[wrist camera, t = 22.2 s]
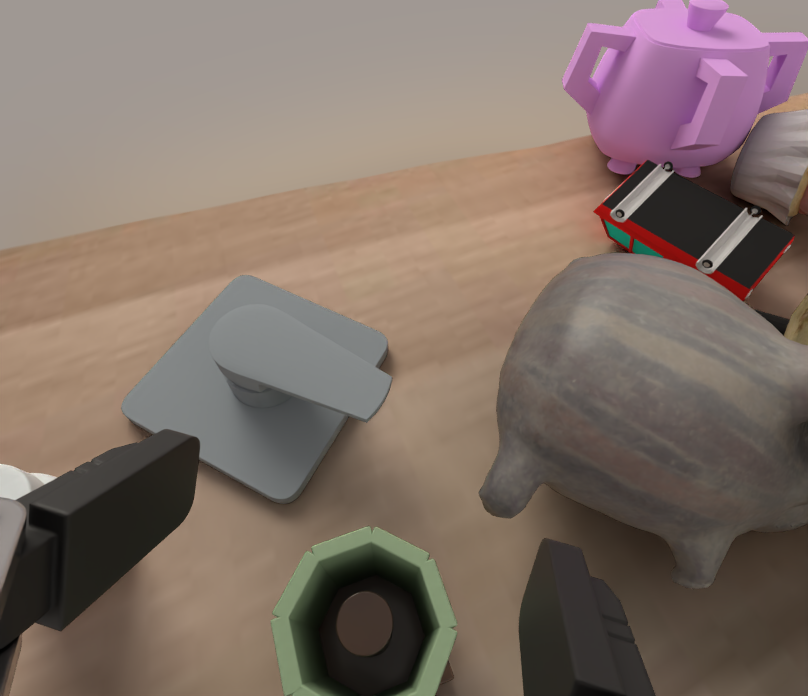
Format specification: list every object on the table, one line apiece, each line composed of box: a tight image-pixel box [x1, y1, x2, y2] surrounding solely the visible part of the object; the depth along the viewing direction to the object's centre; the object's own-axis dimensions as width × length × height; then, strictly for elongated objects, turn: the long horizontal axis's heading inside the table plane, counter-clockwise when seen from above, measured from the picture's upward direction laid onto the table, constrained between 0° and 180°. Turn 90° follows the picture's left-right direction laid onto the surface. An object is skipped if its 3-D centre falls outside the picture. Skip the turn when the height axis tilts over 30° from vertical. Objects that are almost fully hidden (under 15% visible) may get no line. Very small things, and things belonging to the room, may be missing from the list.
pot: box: [562, 0, 808, 178], centre depth 40 cm, size 18×17×12 cm
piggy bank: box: [479, 253, 808, 589], centre depth 26 cm, size 18×16×14 cm
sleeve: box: [271, 526, 457, 696], centre depth 19 cm, size 6×6×8 cm
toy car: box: [594, 160, 795, 301], centre depth 36 cm, size 6×12×4 cm, turn 44°
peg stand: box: [319, 575, 454, 696], centre depth 20 cm, size 6×6×8 cm
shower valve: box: [121, 275, 392, 504], centre depth 29 cm, size 12×6×15 cm
